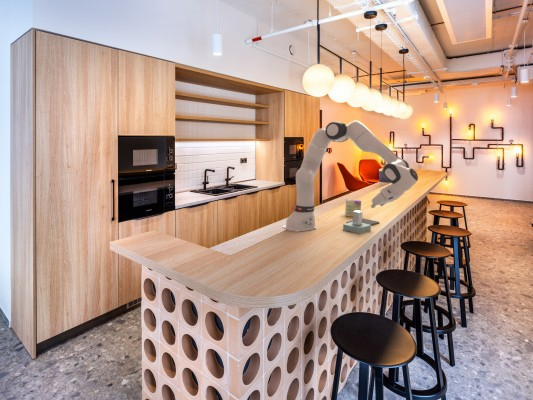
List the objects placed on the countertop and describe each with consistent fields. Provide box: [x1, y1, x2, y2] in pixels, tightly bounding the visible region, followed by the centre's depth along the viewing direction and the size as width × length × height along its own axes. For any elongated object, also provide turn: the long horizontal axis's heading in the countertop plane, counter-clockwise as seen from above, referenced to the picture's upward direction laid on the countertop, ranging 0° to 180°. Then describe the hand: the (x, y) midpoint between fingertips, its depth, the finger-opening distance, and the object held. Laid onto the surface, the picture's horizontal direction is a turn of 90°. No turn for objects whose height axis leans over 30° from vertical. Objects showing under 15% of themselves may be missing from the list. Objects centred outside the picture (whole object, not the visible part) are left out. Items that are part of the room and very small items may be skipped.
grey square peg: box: [352, 210, 363, 226], centre depth 206 cm, size 4×4×12 cm
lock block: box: [342, 222, 372, 235], centre depth 206 cm, size 12×12×4 cm
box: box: [344, 198, 362, 217], centre depth 244 cm, size 10×6×12 cm, turn 84°
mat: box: [345, 217, 380, 227], centre depth 223 cm, size 18×14×1 cm
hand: (376, 206), depth 194 cm, fingers open, 8 cm apart
